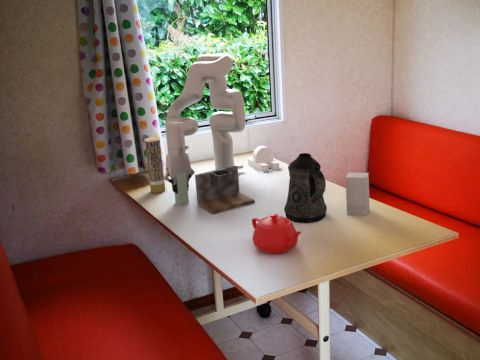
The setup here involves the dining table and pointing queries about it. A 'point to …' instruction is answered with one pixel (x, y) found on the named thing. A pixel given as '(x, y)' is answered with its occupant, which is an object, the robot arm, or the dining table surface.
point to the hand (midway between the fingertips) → (181, 191)
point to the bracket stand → (220, 190)
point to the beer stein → (305, 191)
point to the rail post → (181, 189)
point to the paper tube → (155, 164)
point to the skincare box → (357, 193)
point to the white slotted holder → (263, 159)
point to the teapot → (274, 234)
